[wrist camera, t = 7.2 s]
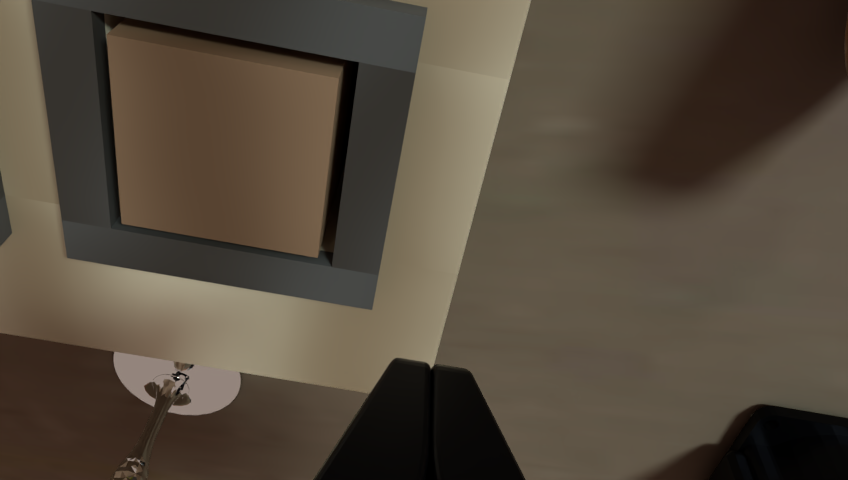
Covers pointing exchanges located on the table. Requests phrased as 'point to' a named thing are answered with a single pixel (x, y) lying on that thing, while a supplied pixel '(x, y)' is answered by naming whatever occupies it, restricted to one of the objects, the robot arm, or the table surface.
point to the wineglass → (169, 398)
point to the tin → (846, 46)
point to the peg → (228, 135)
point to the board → (239, 264)
